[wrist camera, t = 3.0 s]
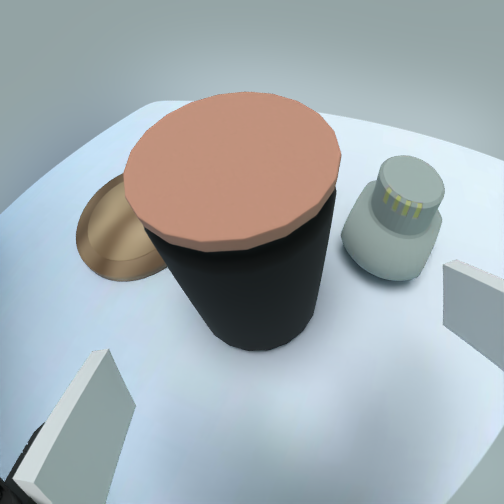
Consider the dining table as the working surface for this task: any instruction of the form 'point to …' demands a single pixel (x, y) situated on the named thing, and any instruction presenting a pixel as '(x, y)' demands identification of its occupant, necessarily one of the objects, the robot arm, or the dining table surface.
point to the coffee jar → (240, 210)
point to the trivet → (115, 237)
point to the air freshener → (396, 219)
